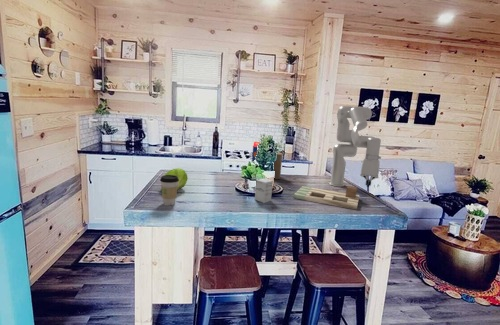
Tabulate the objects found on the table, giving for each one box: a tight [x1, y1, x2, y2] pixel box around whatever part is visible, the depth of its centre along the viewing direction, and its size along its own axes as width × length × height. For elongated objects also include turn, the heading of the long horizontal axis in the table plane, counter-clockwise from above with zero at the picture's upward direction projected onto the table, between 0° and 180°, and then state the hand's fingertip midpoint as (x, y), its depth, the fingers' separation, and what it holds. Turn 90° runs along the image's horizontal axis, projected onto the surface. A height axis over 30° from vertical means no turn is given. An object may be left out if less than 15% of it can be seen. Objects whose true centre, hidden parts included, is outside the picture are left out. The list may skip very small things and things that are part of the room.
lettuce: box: [164, 168, 189, 190], centre depth 190 cm, size 15×20×14 cm
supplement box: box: [254, 177, 274, 204], centre depth 180 cm, size 7×7×13 cm
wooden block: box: [274, 151, 283, 180], centre depth 239 cm, size 10×10×20 cm
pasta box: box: [251, 141, 260, 162], centre depth 223 cm, size 28×8×28 cm, turn 178°
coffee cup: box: [159, 174, 179, 206], centre depth 164 cm, size 10×10×15 cm
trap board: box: [293, 185, 360, 210], centre depth 194 cm, size 24×38×2 cm, turn 67°
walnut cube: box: [345, 185, 358, 198], centre depth 194 cm, size 6×6×6 cm
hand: (367, 186), depth 189 cm, fingers closed
